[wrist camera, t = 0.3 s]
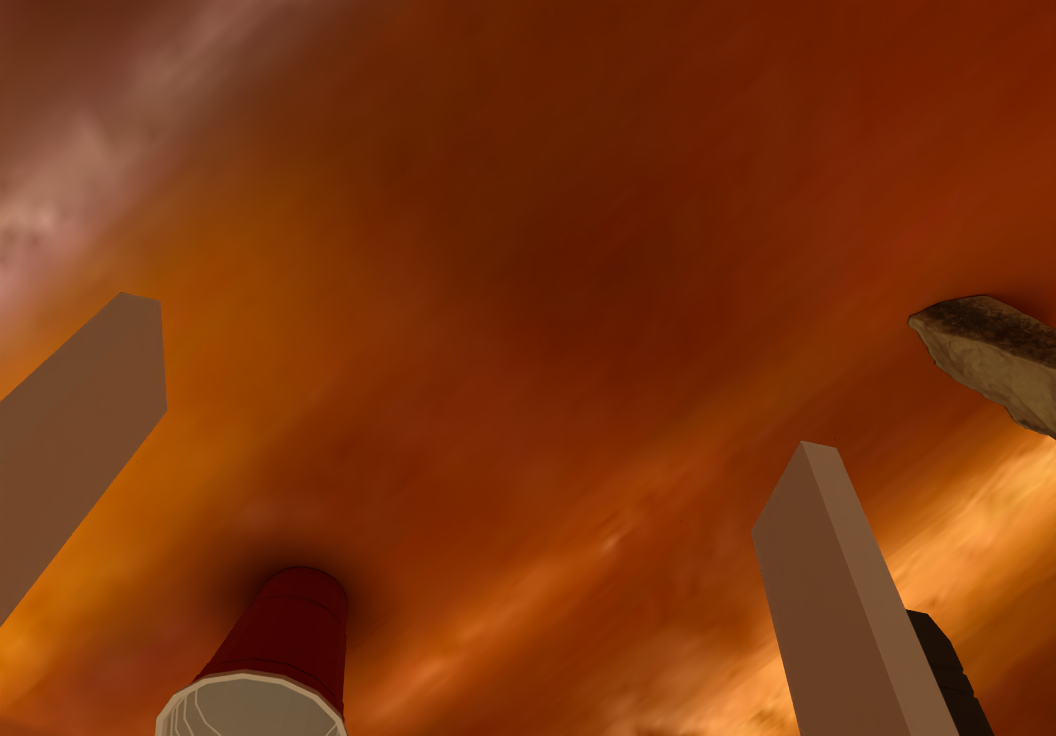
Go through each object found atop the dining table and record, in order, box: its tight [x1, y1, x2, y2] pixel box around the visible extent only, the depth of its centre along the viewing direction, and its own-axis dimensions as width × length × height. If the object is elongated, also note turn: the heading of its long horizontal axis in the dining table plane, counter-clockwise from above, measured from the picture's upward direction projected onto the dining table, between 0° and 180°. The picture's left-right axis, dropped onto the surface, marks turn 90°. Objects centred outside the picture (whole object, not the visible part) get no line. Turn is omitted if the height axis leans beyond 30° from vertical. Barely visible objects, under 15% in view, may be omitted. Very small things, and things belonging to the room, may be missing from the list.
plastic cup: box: [155, 567, 348, 736], centre depth 47 cm, size 11×11×12 cm
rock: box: [908, 296, 1056, 440], centre depth 42 cm, size 11×9×10 cm
